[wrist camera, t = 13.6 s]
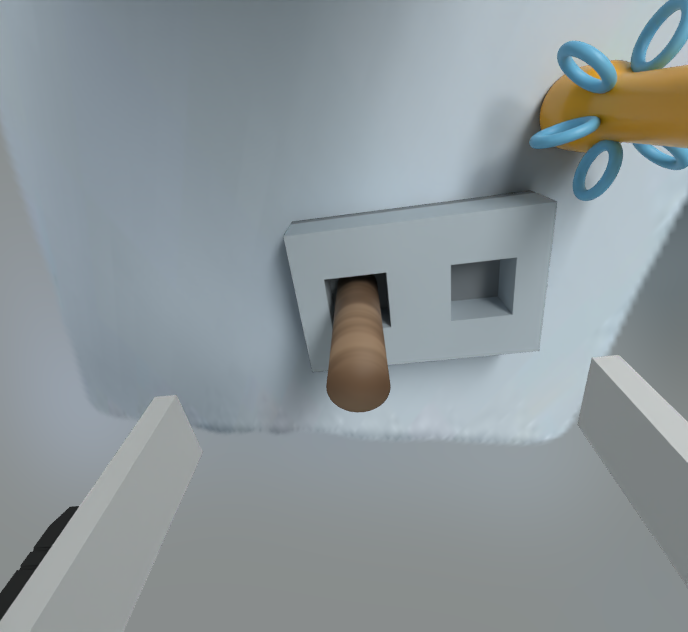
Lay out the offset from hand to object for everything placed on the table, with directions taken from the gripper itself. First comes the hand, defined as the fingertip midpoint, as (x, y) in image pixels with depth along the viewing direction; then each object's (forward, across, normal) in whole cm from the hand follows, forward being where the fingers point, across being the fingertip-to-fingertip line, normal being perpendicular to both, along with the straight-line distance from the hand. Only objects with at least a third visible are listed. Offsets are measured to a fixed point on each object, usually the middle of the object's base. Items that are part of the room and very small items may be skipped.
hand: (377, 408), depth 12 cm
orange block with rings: (+27, +18, +6) cm, 33 cm away
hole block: (+26, +4, -7) cm, 27 cm away
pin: (+25, -2, -7) cm, 26 cm away
